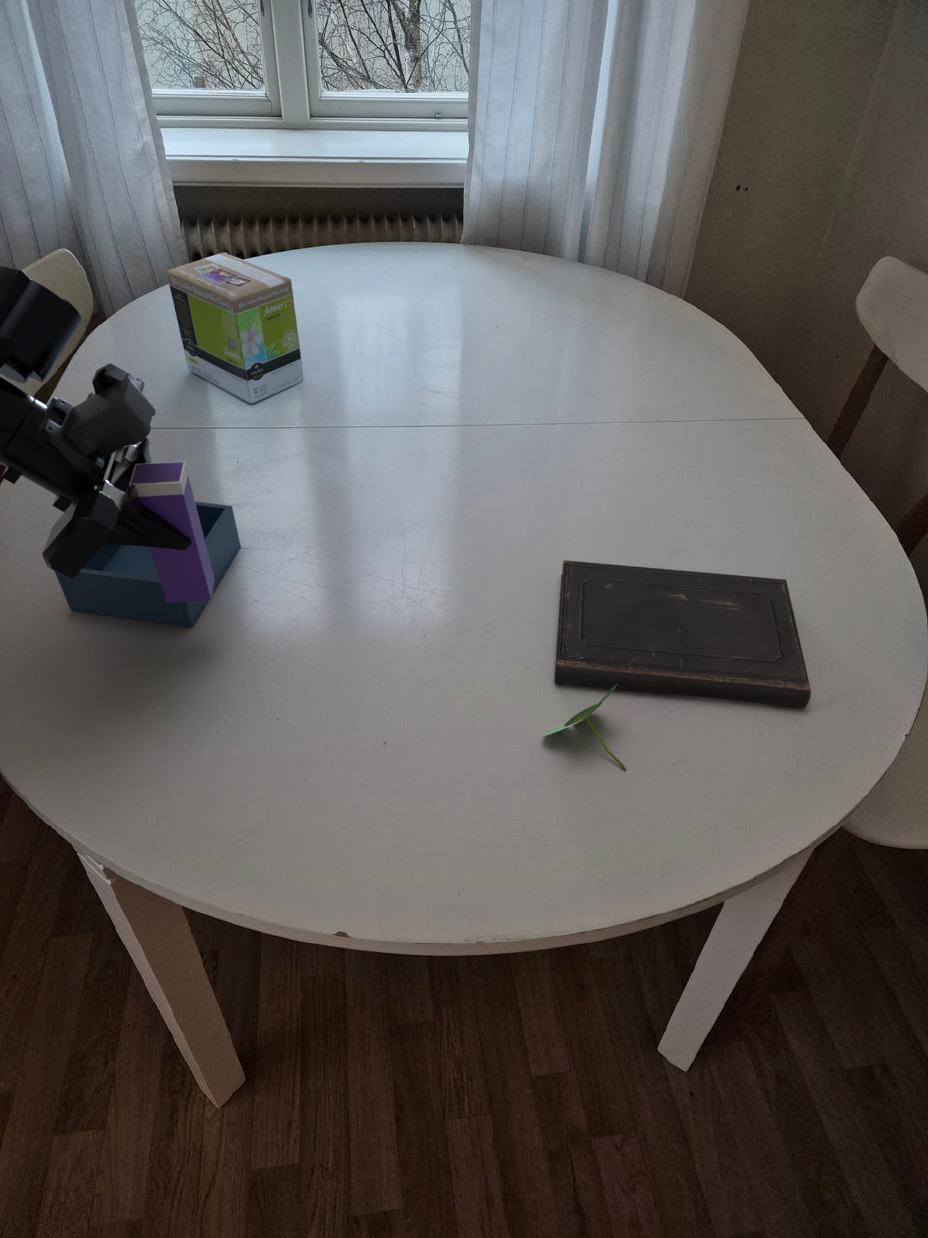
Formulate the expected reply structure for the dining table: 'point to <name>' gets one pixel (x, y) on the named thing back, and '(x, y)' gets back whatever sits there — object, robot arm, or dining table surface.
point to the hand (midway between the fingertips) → (190, 533)
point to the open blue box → (148, 575)
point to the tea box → (237, 325)
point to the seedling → (585, 715)
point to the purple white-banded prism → (174, 502)
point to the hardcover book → (679, 634)
